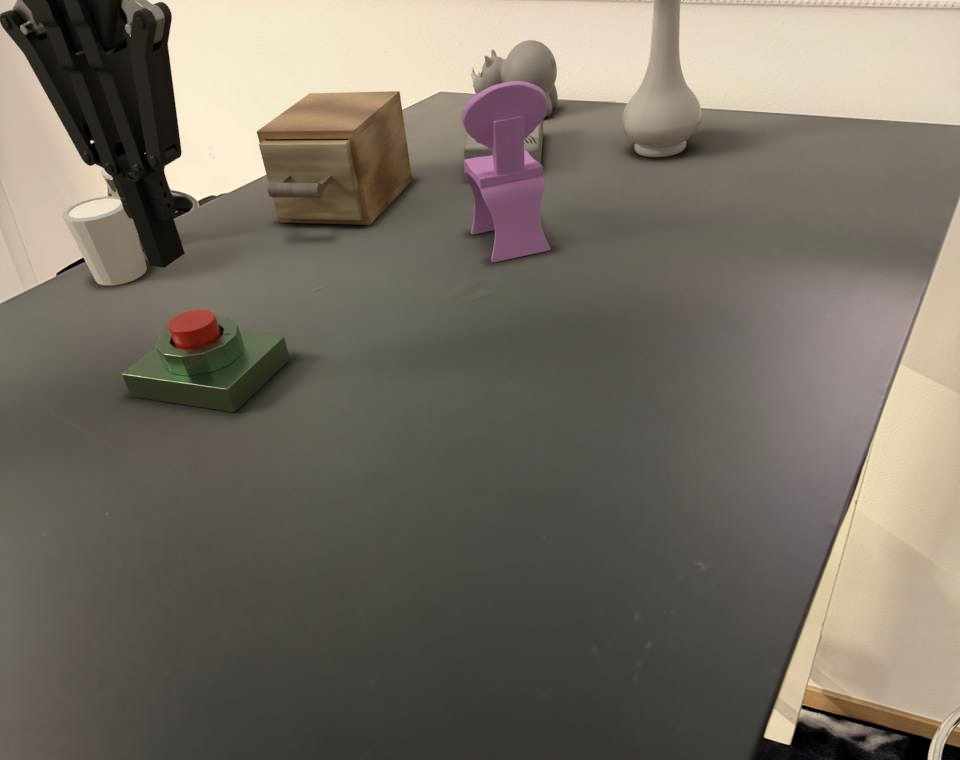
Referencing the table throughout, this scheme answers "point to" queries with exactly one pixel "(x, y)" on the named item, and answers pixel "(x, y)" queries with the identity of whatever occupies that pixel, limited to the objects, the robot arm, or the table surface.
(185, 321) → the button
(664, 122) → the flower vase
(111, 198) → the white cup
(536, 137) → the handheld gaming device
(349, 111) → the cabinet
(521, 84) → the toy chair
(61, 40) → the robot arm
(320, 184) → the drawer
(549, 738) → the table surface
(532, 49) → the toy rhinoceros
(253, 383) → the button block
